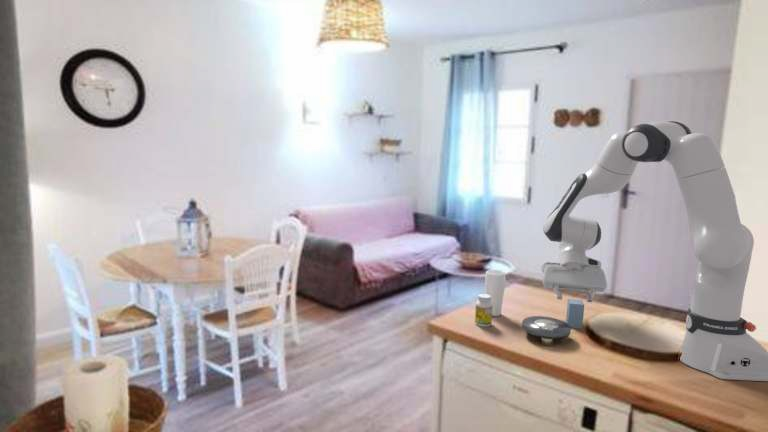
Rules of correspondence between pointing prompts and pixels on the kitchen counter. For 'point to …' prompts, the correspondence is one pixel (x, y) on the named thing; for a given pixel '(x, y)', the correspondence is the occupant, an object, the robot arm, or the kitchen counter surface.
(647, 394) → the kitchen counter surface
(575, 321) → the block
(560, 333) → the stand
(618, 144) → the robot arm
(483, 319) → the supplement bottle
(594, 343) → the kitchen counter surface
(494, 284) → the drinking glass
